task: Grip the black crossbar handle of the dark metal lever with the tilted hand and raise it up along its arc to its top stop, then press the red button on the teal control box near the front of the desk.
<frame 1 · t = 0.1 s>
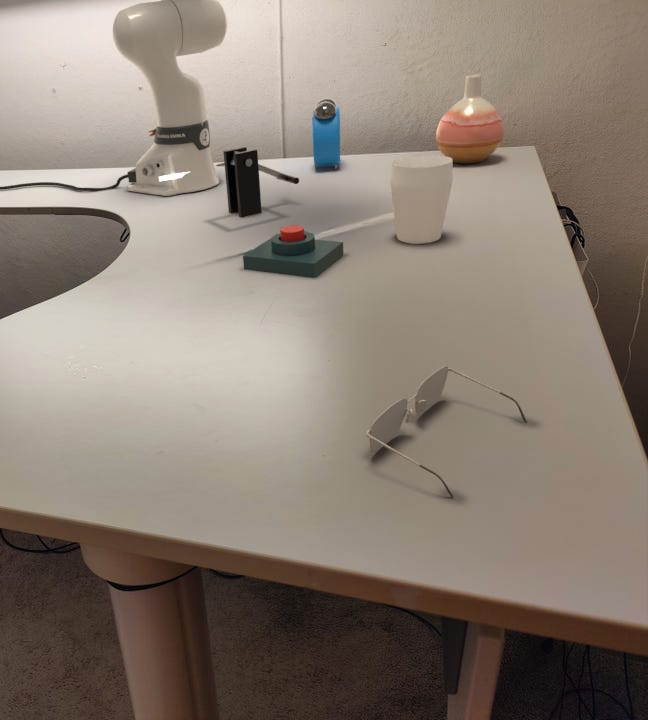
bracket: (245, 219, 127), on the table
button: (292, 234, 101), point 4 cm above the table, slide at 0.1 cm
blue block with ball: (327, 167, 159), on the table
button box: (293, 262, 103), on the table
eyeglasses: (447, 443, 58), on the table
cup: (418, 238, 106), on the table
vase: (467, 161, 148), on the table
lever: (263, 168, 124), point 9 cm above the table, hinge at -28.0°
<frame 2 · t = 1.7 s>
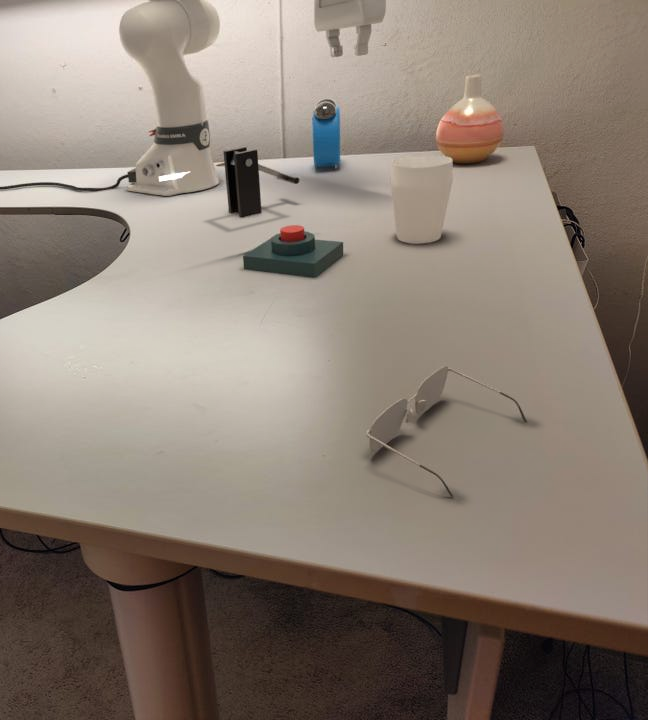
hand: (348, 56, 119), 26 cm above the table, tool pointing down, fingers open, 8 cm apart
nothing on the table moved.
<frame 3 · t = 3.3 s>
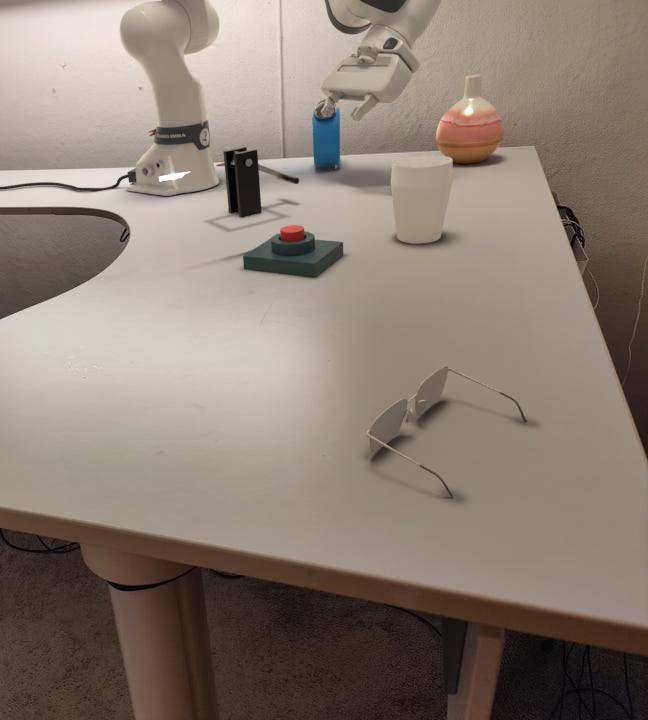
hand: (339, 116, 127), 15 cm above the table, tool tilted 45°, fingers open, 8 cm apart
nothing on the table moved.
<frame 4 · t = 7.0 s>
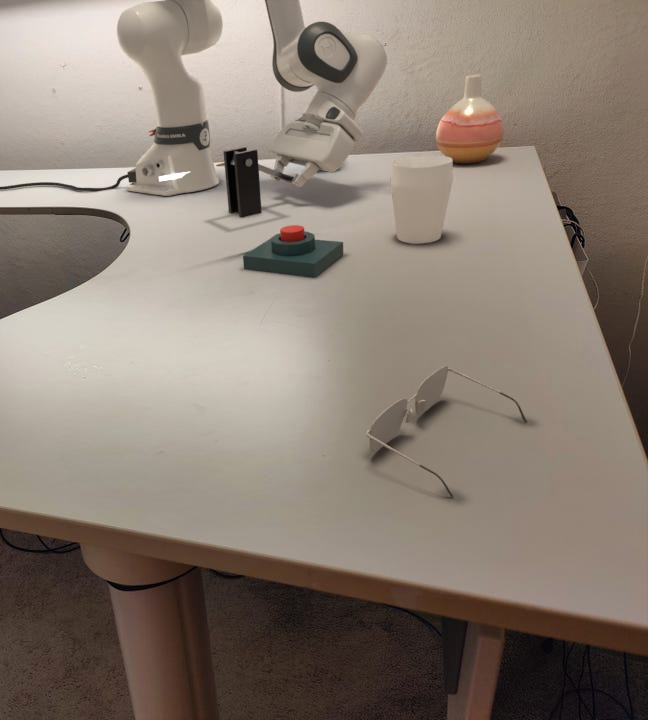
hand: (284, 182, 127), 5 cm above the table, tool tilted 45°, fingers closed on lever, 6 cm apart
lever: (263, 168, 124), point 9 cm above the table, hinge at -28.0°, touching gripper
everything else where it was.
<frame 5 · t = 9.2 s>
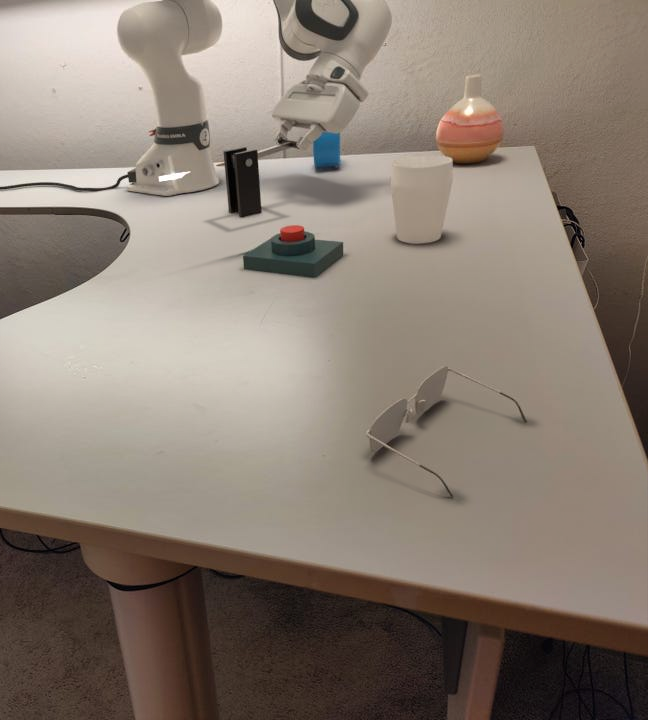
hand: (288, 145, 125), 12 cm above the table, tool tilted 45°, fingers closed on lever, 6 cm apart
lever: (264, 152, 123), point 11 cm above the table, hinge at 5.3°, touching gripper
everything else where it was.
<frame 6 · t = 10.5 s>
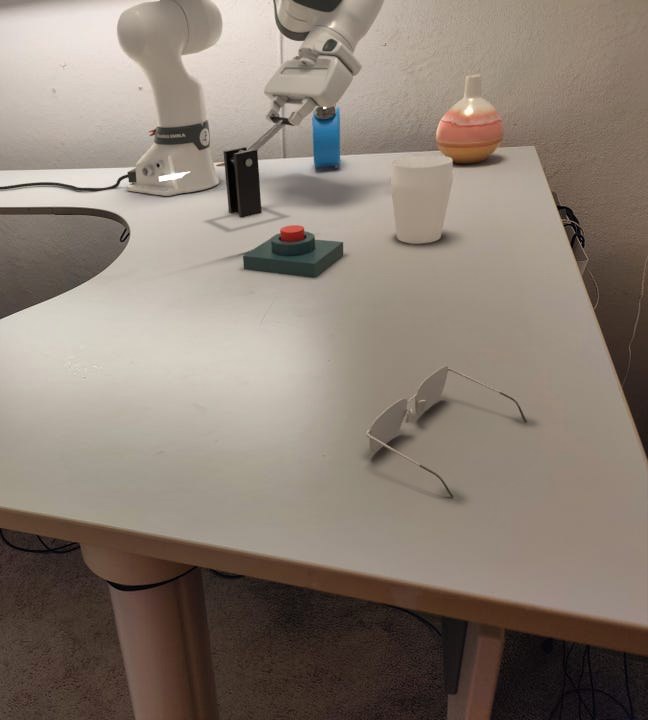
hand: (280, 121, 122), 16 cm above the table, tool tilted 45°, fingers closed on lever, 6 cm apart
lever: (261, 142, 122), point 13 cm above the table, hinge at 29.2°, touching gripper
everything else where it was.
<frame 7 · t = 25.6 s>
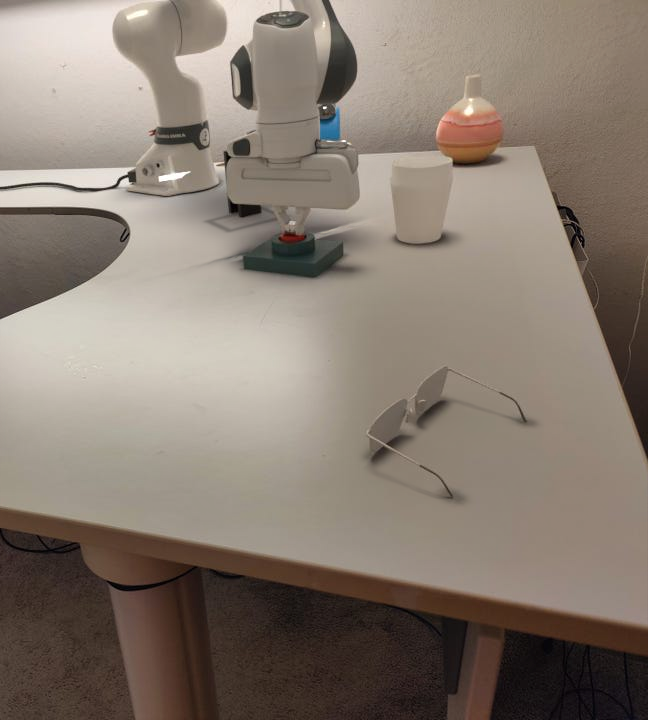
hand: (292, 234, 100), 4 cm above the table, tool pointing down, fingers closed, pressing on button
button: (292, 240, 101), point 4 cm above the table, slide at -0.8 cm, touching gripper
lever: (264, 150, 123), point 12 cm above the table, hinge at 9.7°
everything else where it was.
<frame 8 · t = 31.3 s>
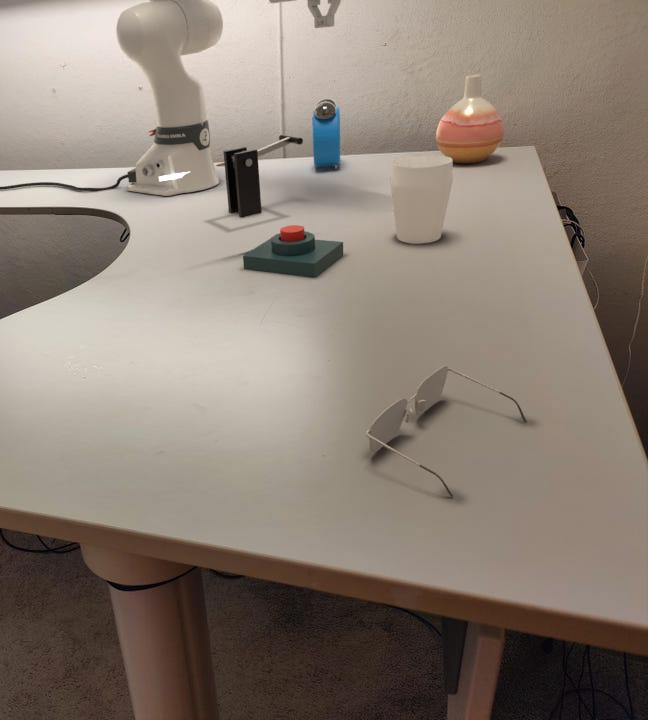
hand: (324, 27, 114), 31 cm above the table, tool pointing down, fingers closed
button: (292, 234, 101), point 4 cm above the table, slide at 0.1 cm
everything else where it was.
at the end: lever at +10° (first picture: -28°); button pushed in 1.0 cm at the most during the clip, back to where it started at the end; button slide at 0.1 cm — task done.
